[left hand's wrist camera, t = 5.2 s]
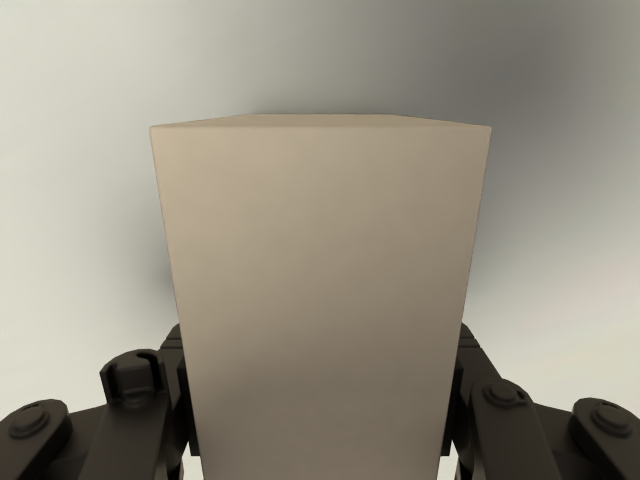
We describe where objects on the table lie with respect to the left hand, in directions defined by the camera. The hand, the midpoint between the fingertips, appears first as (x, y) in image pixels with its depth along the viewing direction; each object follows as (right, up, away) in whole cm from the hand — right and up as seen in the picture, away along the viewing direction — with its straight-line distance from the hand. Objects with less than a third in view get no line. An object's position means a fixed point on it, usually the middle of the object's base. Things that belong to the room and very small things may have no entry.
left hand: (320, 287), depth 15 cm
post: (0, -28, +11) cm, 30 cm away
